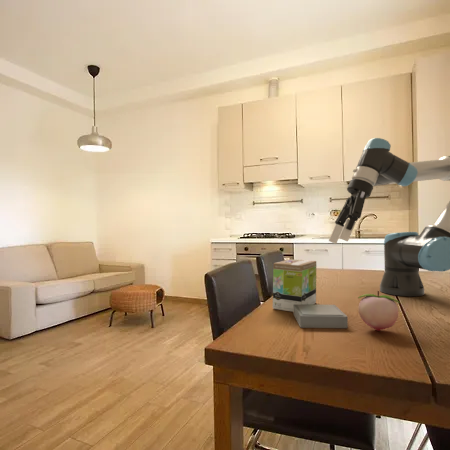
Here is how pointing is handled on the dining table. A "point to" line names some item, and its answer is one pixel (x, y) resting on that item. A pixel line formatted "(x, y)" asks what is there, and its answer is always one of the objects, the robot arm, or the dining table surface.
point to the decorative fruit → (378, 311)
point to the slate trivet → (320, 316)
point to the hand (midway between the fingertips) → (337, 241)
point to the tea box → (294, 283)
